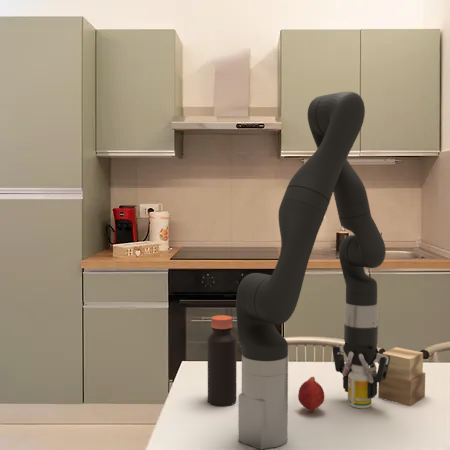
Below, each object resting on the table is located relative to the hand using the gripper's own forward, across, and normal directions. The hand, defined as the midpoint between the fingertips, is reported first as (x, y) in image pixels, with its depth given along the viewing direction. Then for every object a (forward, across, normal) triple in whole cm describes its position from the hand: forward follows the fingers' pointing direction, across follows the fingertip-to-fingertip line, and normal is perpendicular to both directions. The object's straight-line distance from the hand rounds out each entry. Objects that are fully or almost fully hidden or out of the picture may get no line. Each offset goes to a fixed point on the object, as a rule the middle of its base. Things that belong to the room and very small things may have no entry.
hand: (359, 394), depth 136 cm
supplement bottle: (+3, 0, 0) cm, 3 cm away
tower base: (+3, +5, +11) cm, 12 cm away
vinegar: (+3, -25, -20) cm, 32 cm away
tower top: (-3, +5, +11) cm, 12 cm away
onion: (+3, -6, -11) cm, 13 cm away
